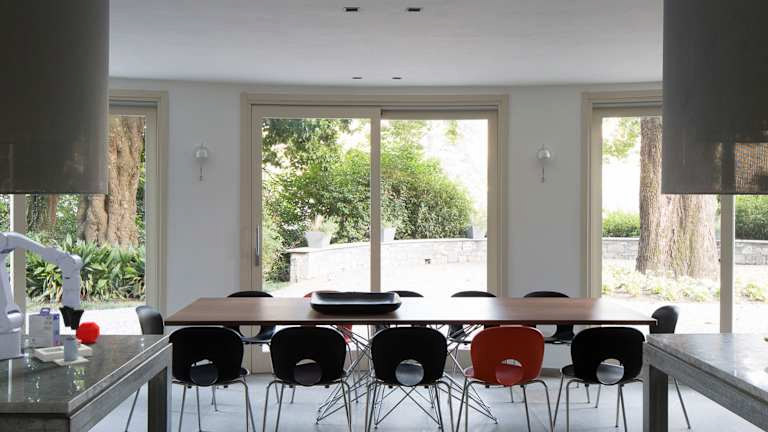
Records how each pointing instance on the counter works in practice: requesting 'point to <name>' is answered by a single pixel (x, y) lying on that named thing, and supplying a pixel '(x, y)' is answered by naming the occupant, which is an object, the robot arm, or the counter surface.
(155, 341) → the counter surface
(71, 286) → the robot arm
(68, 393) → the counter surface
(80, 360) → the stone coaster
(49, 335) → the ink cartridge box
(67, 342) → the capped blue cylinder
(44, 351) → the white panel with holes
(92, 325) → the ball
